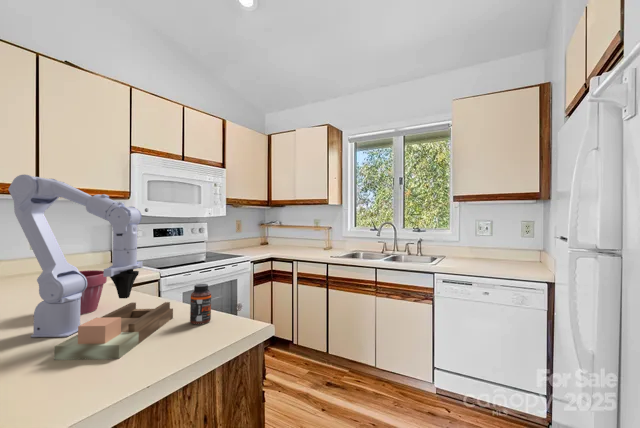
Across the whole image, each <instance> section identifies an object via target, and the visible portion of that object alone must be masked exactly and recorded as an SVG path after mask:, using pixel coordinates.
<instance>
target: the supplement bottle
mask: <svg viewBox="0 0 640 428" xmlns="http://www.w3.org/2000/svg"><path fill="white" fill-rule="evenodd" d="M193 288H194V289H193V292H192V293H190V306H189V308H190V309H189V310H190V312H189V321H190V323H191V325H204V324H207V323H210V322H211V319H212V292H211V291H210V289H209V284H208V283H198V284H197V283H196V284H194V286H193Z"/></svg>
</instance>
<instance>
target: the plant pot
mask: <svg viewBox="0 0 640 428" xmlns="http://www.w3.org/2000/svg"><path fill="white" fill-rule="evenodd" d="M79 272H80V273H81V274H82V275H84V276H85V277H86V279H87V287H86V289H85V290H84V291H83V292H82V296H81V305H80V316H81V315H86V314H89V313H93V312H94V311H97V310H98V307H99V303H100V300H101V296H102V292H103V288H104V284H106V283H107V282H108V281H107V278H108V277H103V275H104V270H95V269H94V270H79Z"/></svg>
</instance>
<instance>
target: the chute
mask: <svg viewBox="0 0 640 428" xmlns="http://www.w3.org/2000/svg"><path fill="white" fill-rule="evenodd" d="M108 317H121V334H119V335H118V336H116V337H115V338H113V339H111V340H110V341H108V342H107V343H102V344H78V334H76V335H74V336H72V337H70V338H68V339H66V340H64V341H62V342H60V343H58V344H57V345H54V348H53V349H54V350H53V351H54V354H53V356H54V357H53V360H54V361H59V360H62V361H64V360H65V361H66V360H67V361H68V360H69V361H71V360H109V359H110V360H113V359H120V358H122V357H123V356H124V355H126V354H127V353H129V352H130V351H132V350H133V349H134V348H135V347H136V346H138V345H139V344H140V343H142V342H143V341H144V340H146V339H147V338H148V337H150V336H151V335H152V334H153V333H155V332H156V331H157V330H159V329H160V328H161V327H164V325H165V324H167V323H168V322H169V320H170V321H171V320H172V319H174V308H171V302H169V301H167V302H166V301H165V302H163V303H161V304H160V305H158V306H156V307H155V308H137V302H130V303H127V304H126V305H123V306H121V307H119V308H117V309H115V310H113V311H111V312H109V313H107V314H105V315H102V316H100V317H99V318H108Z"/></svg>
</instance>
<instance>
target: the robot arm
mask: <svg viewBox="0 0 640 428" xmlns="http://www.w3.org/2000/svg"><path fill="white" fill-rule="evenodd" d="M7 190H8V192H9V194H10V196H11V198H12V199H13V209H14V215H15V217H16V219H17V221H18V223H19V226H20V227H21V230H22V231H23V233H24V235H25V237H26V239H27V240H26V241H27V242H28V243H29V246H30V247H31V250H32V252H33V253H34V256H35V258H36V260H37V262H38V264H39V266H40V269H41V271H42V272H41V273H40V274H39V276H38V277H37V278H36V282H37V284H38V294H39V296H40V298H41V299H42V300H41V302H39V303H38V304H37V305H36V306H35V309H34V312H33V334H30V338H58V337H59V338H63V337H65V338H66V337H69V336H71V335H74V334H76V333H78V326H80V325H81V315H80V305H81V296H82V292H83V291H84V290H85V289H86V287H87V279H86V277H85V276H84V275H82V274H81V273H80V272H79V271H80V270H79V269H78V267H77V266H75V265H74V264H71V263H70V262H68V260H67V258H66V256H65V255H64V253H63V250H62V249H61V246H60V244H59V242H58V241H57V238H56V236H55V234H54V232H53V229H52V228H51V225H50V224H49V222H48V219H47V218H46V216H45V212H46V211H47V210H48V209H49V208H50V207H51V206H52V205H53V204H54V203H55V202H56V201H57V200H58V199H59V198H63V199H66V200H69V201H71V202H73V203H76V204H78V205H81V206H84V207H85V210H86V212H87V213H89V214H91V215H93V216H96V217H98V218H100V219H103V220H106V221H107V222H109V224H110V225H111V226H112V228H111V229H112V236H113V237H112V265H110V266H108V267H107V268H104V269H103V271H104V275H103V277H107V278H108V277H109V278H110V279H111V281H112V282H113V284H114V286H115V289H116V292H117V295H118V298H119V299H128V298H130V296H131V292H132V290H133V289H132V288H133V285H134V283H135V281H136V280H137V277H138V276H139V274H140V271H139V270H137V269H143V265H144V263H143V262H144V261H143V260H141V261H138V258H137V257H138V225H139V224H140V223H141V222H142V217H143V215H142V213H141V211H140V210H139V208H136V206H126V204H125V202H122V201H116V200H113V199H111V198H110V195H108V194H105V193H103V194H99V193H98V194H95V195H91V194H89V193H87V192H84V191H83V190H80V189H78V188H77V187H74V186H73V185H71V184H68V183H66V182H64V181H61V180H57V179H56V178H45V177H39V176H35V175H34V176H32V175H30V174H19V175H17V176H15V178H14V179H13V180H12V181H11V183H10V186H9V187H8V189H7Z"/></svg>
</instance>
